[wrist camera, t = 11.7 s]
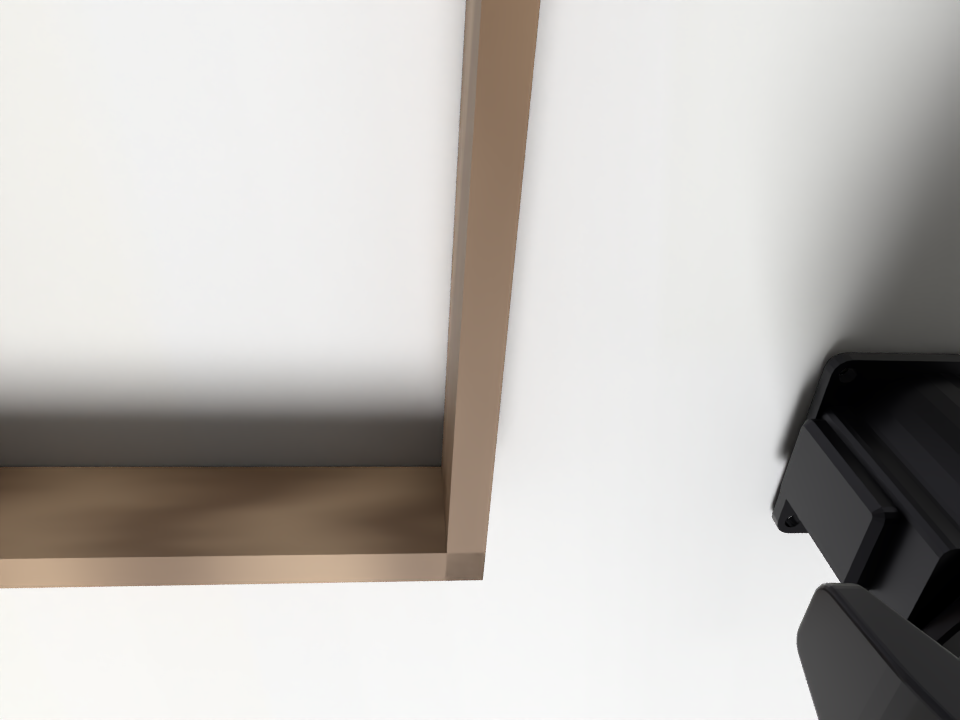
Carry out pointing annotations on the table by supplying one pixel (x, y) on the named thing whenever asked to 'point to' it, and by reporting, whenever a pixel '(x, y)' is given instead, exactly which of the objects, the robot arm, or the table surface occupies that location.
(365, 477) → the wooden u-shaped frame
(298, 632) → the table surface
